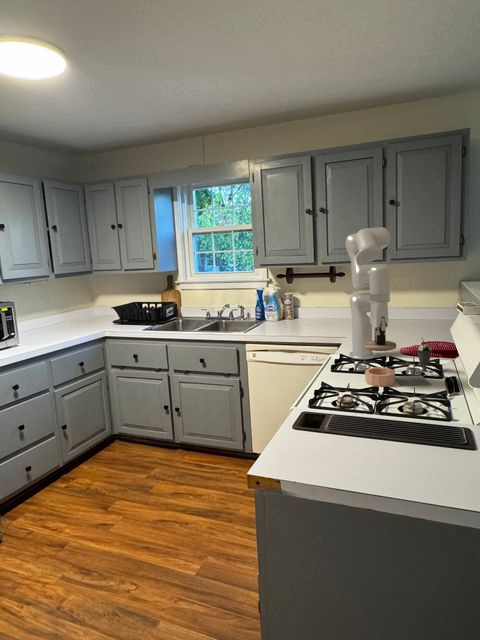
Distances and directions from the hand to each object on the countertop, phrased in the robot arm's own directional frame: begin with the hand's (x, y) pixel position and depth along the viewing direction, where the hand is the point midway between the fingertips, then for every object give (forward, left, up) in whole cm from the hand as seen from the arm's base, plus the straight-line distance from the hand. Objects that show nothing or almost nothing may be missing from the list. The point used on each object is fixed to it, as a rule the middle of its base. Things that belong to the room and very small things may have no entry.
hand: (379, 343), depth 177 cm
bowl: (0, 0, -17) cm, 17 cm away
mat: (0, +13, -17) cm, 21 cm away
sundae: (-12, +22, -17) cm, 30 cm away
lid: (0, 0, -2) cm, 2 cm away
